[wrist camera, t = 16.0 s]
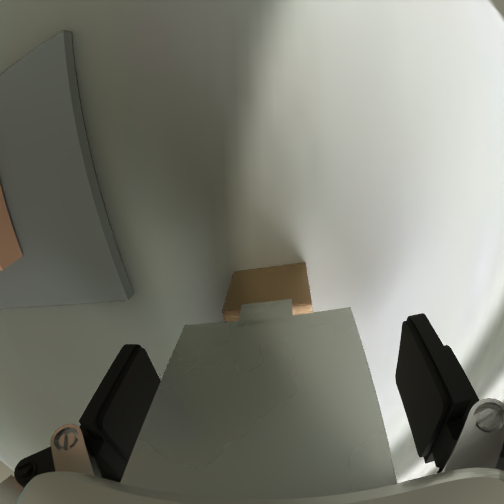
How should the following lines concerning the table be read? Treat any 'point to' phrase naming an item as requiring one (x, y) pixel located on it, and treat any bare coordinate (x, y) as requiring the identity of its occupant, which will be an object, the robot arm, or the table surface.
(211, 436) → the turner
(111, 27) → the table surface
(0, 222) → the tile
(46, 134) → the mat
